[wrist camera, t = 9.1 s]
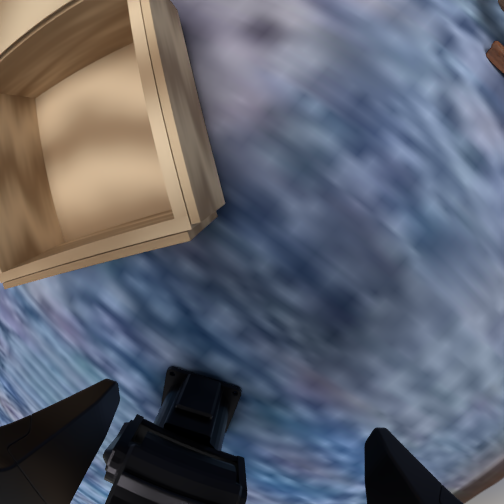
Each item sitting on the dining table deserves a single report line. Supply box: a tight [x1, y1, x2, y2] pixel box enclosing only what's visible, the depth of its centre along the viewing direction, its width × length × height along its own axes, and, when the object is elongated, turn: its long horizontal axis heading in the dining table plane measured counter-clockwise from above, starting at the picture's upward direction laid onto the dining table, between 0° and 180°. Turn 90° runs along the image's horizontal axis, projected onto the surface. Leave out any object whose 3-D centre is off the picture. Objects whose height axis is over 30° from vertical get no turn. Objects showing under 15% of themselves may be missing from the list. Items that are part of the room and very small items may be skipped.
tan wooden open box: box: [0, 0, 225, 289], centre depth 16 cm, size 14×15×8 cm
